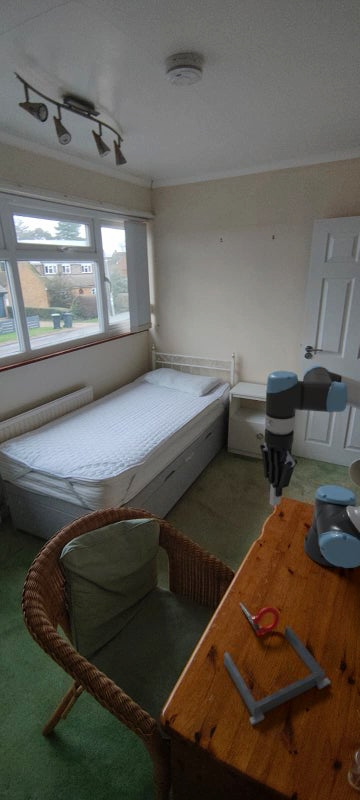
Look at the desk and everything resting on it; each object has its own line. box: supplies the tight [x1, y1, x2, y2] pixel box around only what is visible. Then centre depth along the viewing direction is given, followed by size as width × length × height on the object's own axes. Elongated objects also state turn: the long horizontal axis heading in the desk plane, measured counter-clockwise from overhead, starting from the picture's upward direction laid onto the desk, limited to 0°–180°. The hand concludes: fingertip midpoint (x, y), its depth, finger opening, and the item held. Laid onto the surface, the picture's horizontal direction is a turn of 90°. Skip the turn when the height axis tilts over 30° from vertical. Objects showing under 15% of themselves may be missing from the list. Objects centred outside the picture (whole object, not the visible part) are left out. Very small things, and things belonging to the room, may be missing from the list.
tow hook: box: [238, 602, 280, 637], centre depth 103 cm, size 7×10×7 cm
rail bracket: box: [223, 625, 331, 726], centre depth 89 cm, size 21×14×3 cm, turn 113°
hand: (274, 503), depth 109 cm, fingers closed
